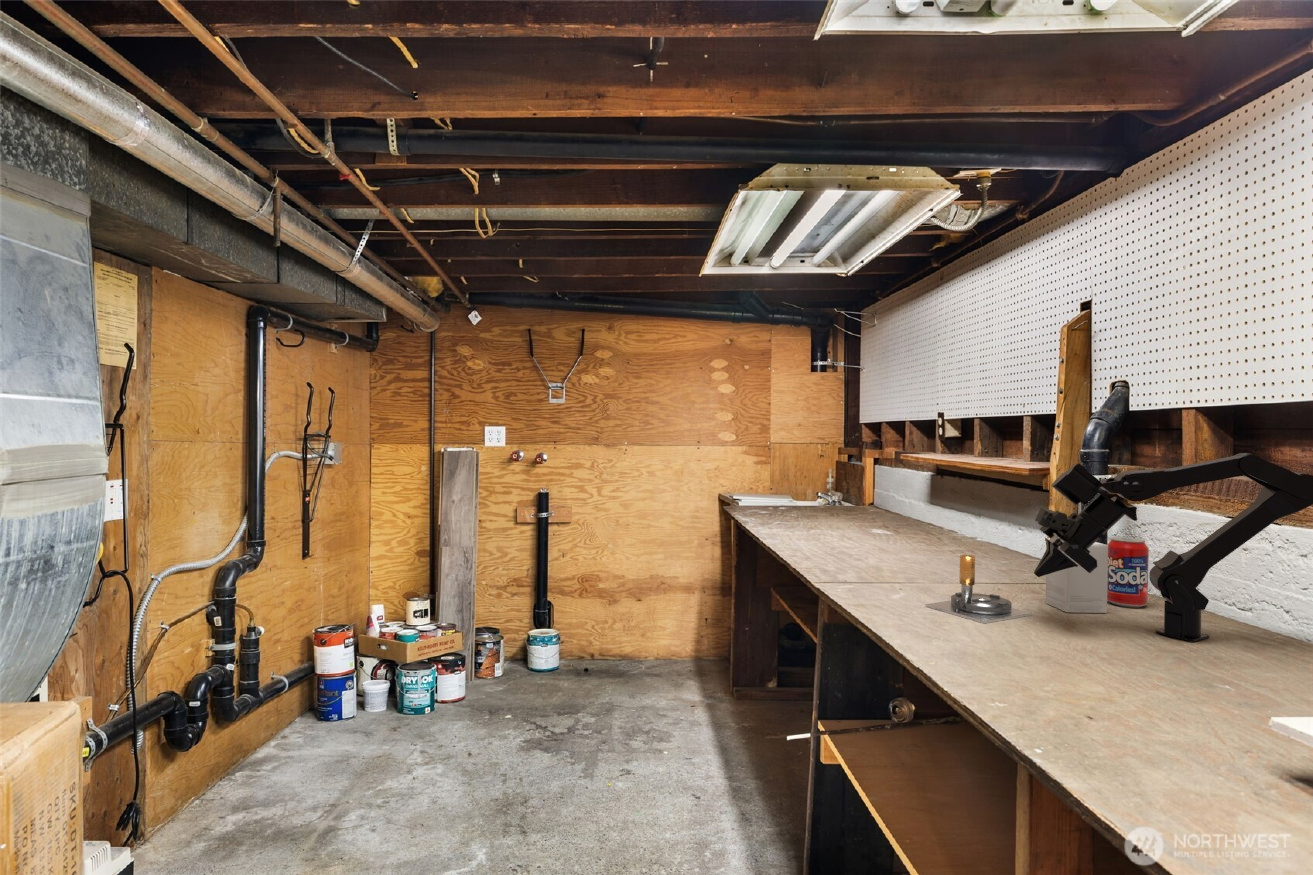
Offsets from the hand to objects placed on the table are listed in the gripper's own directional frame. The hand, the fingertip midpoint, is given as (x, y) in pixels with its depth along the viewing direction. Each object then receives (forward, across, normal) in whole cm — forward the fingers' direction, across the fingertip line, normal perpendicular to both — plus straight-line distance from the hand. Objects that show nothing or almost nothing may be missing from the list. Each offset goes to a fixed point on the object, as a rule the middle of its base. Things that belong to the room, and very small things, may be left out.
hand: (1035, 575), depth 144 cm
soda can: (-6, -20, +26) cm, 34 cm away
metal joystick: (+14, -5, -1) cm, 14 cm away
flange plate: (+14, -4, -1) cm, 15 cm away
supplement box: (+1, -13, +16) cm, 21 cm away
